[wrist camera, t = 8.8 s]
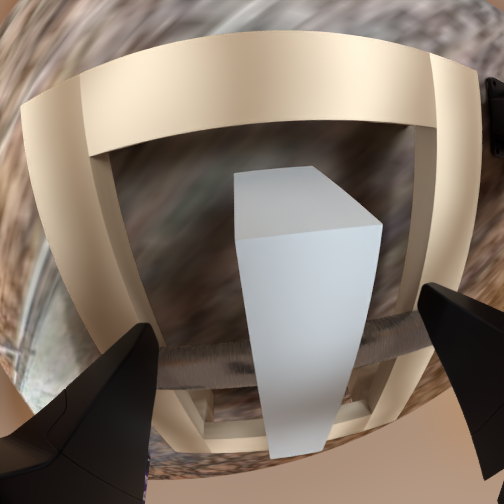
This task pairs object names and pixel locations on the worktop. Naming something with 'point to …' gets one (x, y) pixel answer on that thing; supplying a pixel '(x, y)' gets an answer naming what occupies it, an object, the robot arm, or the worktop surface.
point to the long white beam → (302, 296)
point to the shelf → (242, 113)
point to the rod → (242, 365)
